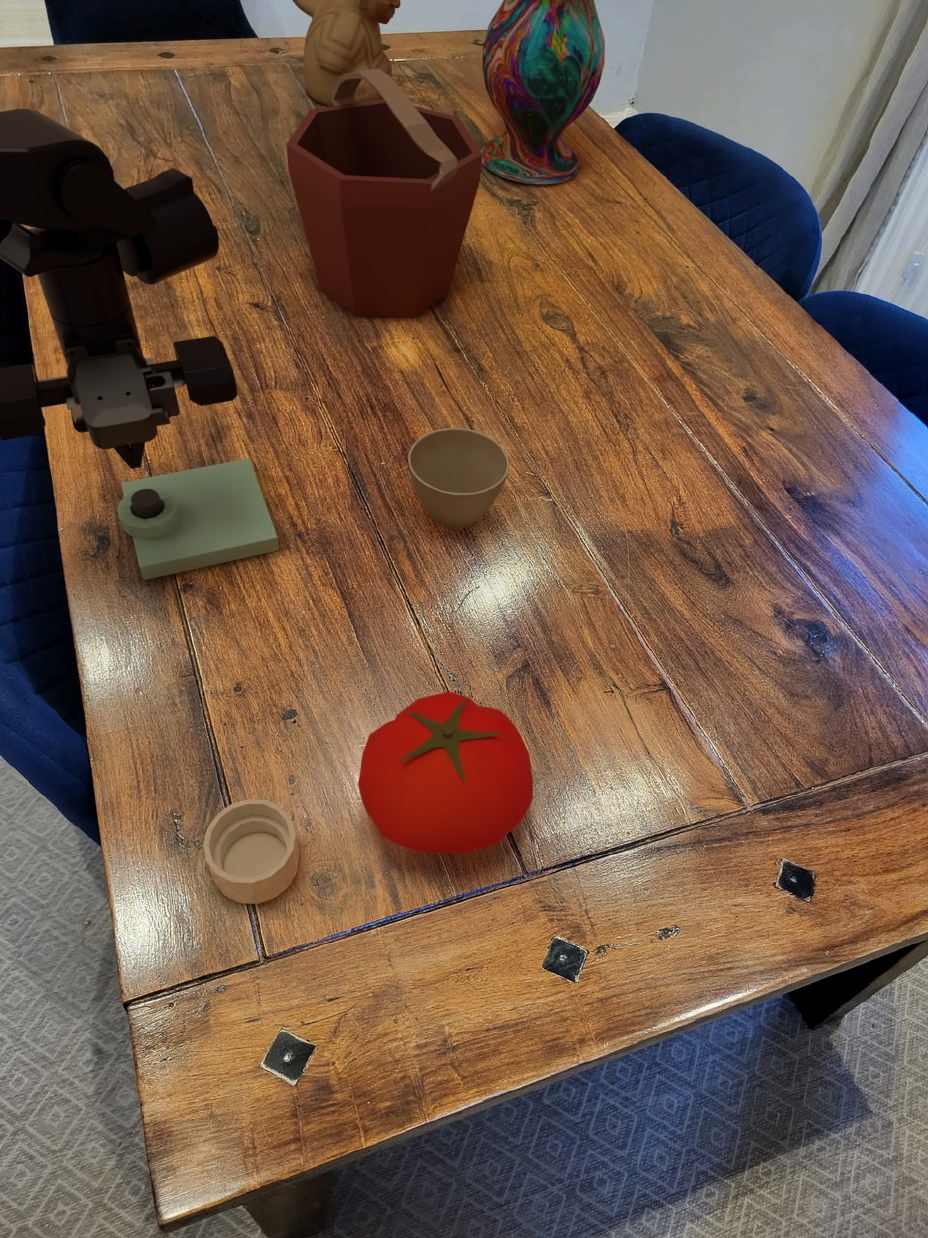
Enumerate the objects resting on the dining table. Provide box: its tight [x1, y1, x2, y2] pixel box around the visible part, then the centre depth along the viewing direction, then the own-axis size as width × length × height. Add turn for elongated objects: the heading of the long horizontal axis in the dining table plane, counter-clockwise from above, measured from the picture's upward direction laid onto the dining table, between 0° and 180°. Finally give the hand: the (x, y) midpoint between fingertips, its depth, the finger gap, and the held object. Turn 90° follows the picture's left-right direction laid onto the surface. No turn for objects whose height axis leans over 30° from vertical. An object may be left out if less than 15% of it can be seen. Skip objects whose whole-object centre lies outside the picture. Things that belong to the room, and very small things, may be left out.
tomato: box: [357, 690, 534, 855], centre depth 66 cm, size 13×12×11 cm
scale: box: [116, 458, 280, 581], centre depth 86 cm, size 14×12×4 cm
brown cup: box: [407, 427, 510, 530], centre depth 89 cm, size 10×10×7 cm
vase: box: [480, 0, 606, 185], centre depth 132 cm, size 18×18×30 cm
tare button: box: [131, 489, 162, 519], centre depth 84 cm, size 3×3×2 cm
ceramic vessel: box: [291, 0, 402, 107], centre depth 145 cm, size 17×20×25 cm
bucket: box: [286, 69, 483, 319], centre depth 108 cm, size 24×22×25 cm
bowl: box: [202, 798, 300, 905], centre depth 65 cm, size 6×6×4 cm
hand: (135, 465), depth 77 cm, fingers closed
